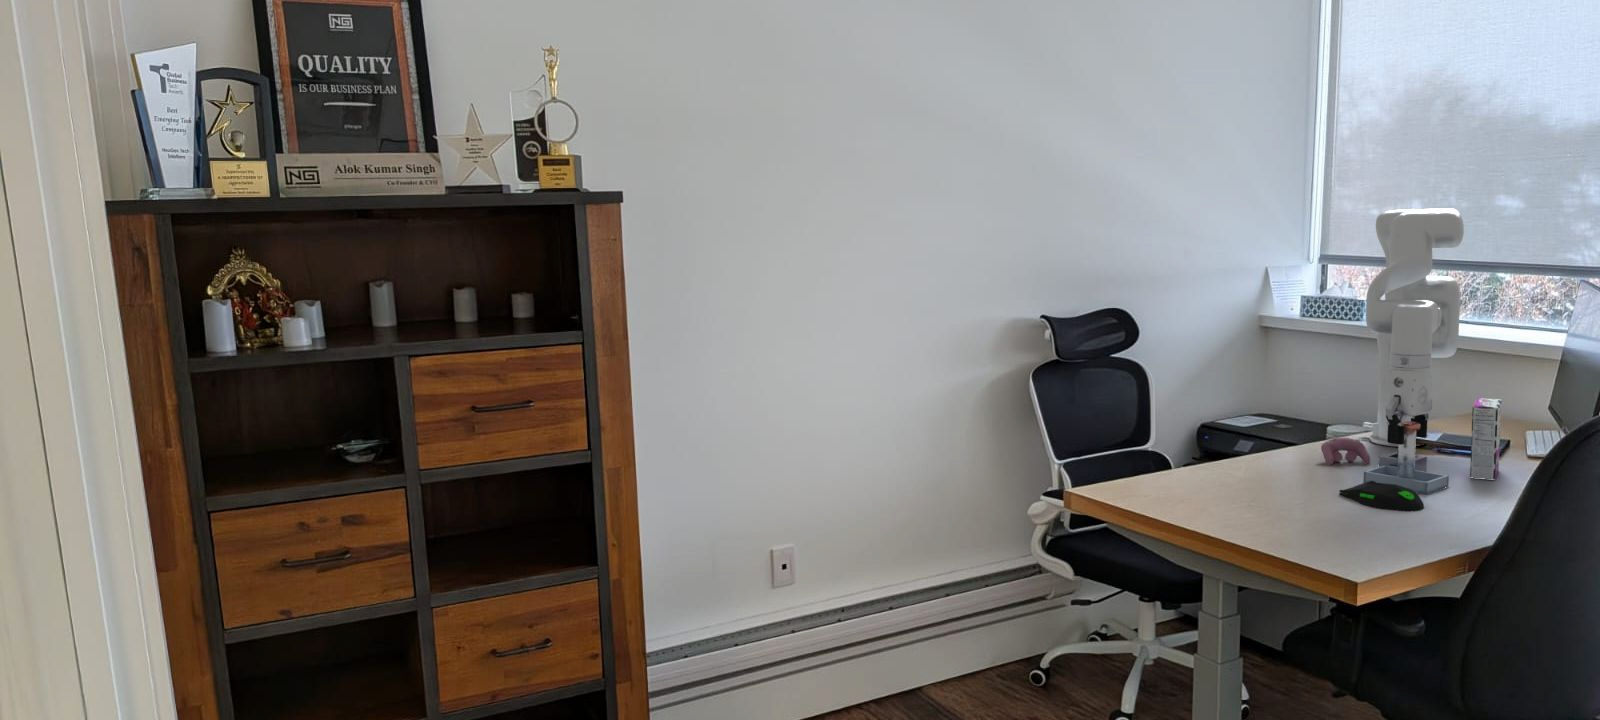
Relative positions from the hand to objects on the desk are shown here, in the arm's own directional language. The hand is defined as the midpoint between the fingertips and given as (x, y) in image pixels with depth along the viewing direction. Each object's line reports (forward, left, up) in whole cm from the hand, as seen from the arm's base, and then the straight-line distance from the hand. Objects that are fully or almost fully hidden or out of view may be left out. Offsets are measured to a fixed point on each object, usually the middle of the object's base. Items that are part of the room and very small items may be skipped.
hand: (1407, 440), depth 222 cm
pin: (0, 0, -9) cm, 9 cm away
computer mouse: (+3, -16, -10) cm, 20 cm away
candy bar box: (+7, +21, -10) cm, 24 cm away
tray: (0, 0, -10) cm, 10 cm away
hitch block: (-5, +9, -10) cm, 14 cm away
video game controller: (-19, +10, -10) cm, 24 cm away
